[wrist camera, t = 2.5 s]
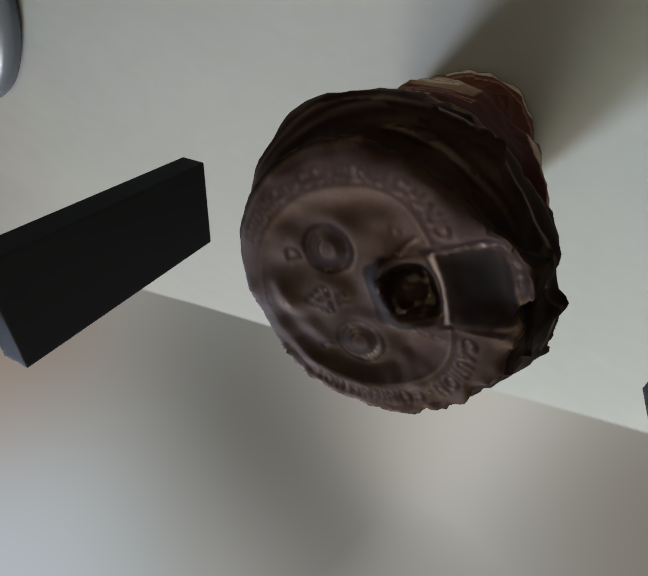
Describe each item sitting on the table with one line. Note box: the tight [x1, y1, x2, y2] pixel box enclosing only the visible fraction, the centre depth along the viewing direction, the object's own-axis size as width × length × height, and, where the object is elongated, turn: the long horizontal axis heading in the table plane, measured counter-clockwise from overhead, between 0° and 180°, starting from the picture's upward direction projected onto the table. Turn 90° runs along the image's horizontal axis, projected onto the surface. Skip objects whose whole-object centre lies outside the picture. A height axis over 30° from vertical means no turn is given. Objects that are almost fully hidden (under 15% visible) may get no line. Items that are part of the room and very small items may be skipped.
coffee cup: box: [240, 70, 569, 414], centre depth 15 cm, size 9×8×13 cm
